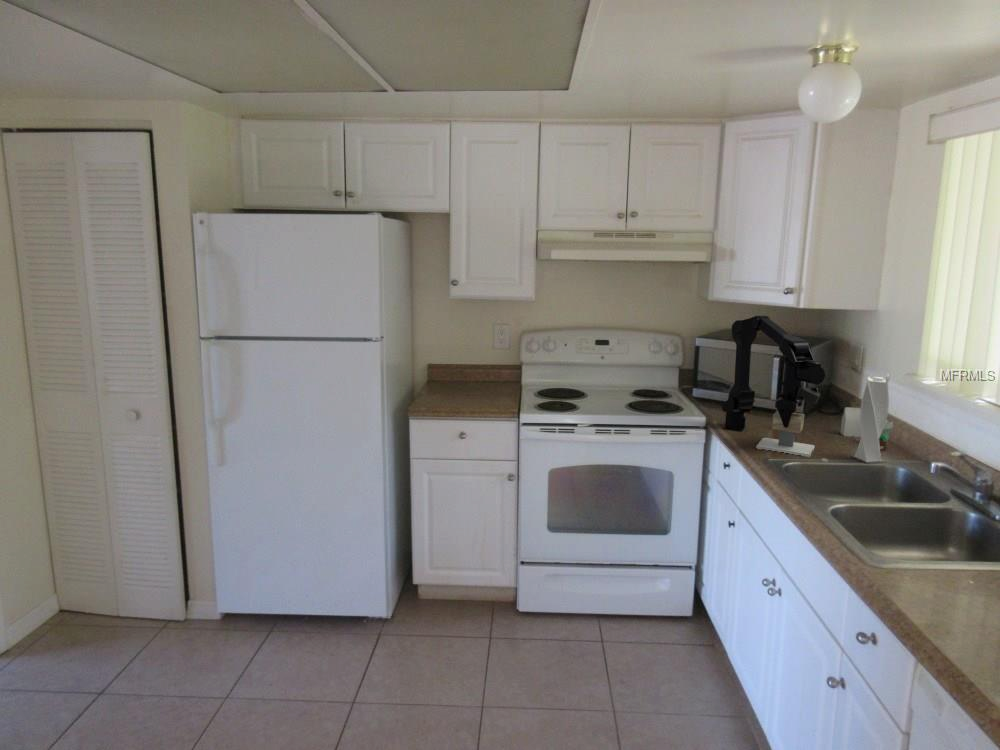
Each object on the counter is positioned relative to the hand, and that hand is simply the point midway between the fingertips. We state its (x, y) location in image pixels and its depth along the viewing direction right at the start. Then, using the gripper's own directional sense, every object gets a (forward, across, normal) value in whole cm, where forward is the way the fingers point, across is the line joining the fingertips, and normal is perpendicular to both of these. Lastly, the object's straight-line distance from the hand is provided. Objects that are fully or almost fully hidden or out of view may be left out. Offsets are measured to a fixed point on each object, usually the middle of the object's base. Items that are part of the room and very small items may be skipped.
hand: (787, 425), depth 216 cm
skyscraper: (+8, +2, -24) cm, 25 cm away
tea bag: (+8, +32, -17) cm, 37 cm away
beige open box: (+1, 0, 0) cm, 1 cm away
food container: (+8, +20, -26) cm, 34 cm away
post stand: (+8, 0, 0) cm, 8 cm away
